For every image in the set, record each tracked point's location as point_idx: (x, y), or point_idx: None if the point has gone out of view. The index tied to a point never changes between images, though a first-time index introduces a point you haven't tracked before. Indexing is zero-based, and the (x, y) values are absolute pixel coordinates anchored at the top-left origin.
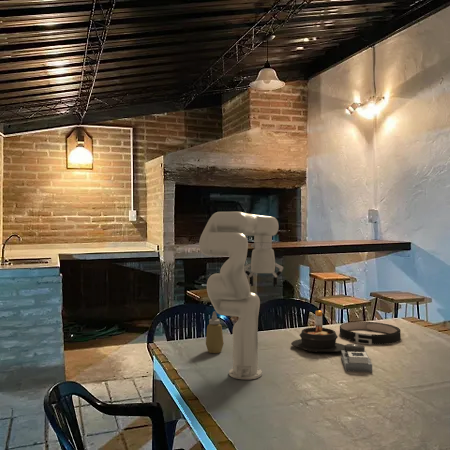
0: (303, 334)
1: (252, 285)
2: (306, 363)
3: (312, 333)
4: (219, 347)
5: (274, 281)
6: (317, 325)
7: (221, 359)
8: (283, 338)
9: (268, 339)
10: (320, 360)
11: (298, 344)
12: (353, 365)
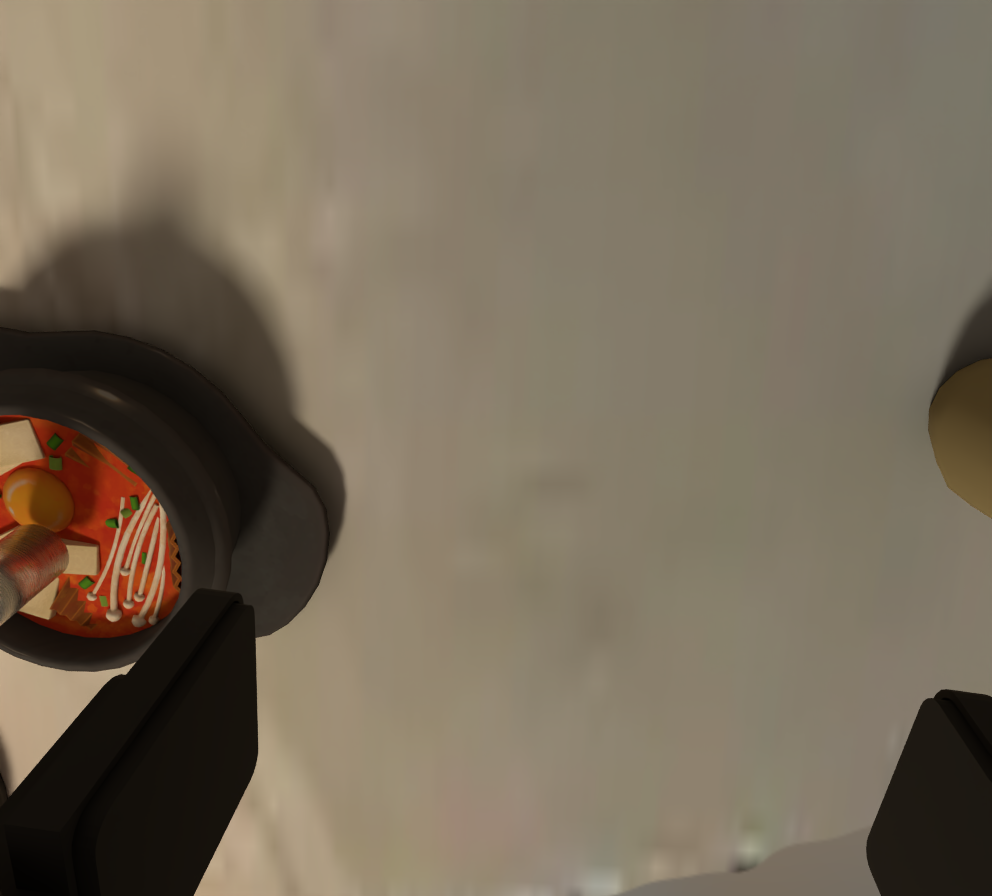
0: (182, 490)
1: (948, 707)
2: (212, 90)
3: (123, 589)
4: (978, 371)
5: (133, 696)
6: (11, 558)
7: (957, 185)
8: (393, 739)
9: (505, 721)
10: (104, 182)
11: (269, 500)
12: None
